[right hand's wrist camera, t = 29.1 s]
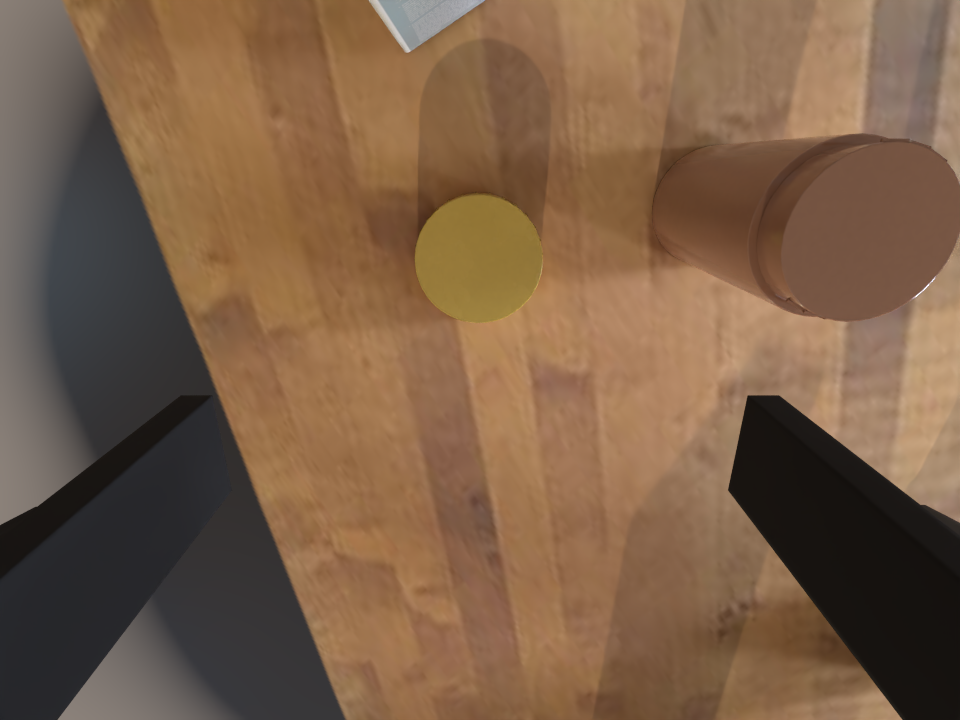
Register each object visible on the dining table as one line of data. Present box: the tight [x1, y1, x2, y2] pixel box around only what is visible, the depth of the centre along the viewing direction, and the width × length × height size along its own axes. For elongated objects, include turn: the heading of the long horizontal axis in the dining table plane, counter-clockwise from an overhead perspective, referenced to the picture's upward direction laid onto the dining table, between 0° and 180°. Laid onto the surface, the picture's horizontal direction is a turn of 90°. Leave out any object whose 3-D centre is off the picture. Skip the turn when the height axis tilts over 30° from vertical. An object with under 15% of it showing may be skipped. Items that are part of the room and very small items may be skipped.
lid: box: [414, 192, 543, 323], centre depth 37 cm, size 9×9×2 cm
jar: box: [652, 134, 960, 322], centre depth 29 cm, size 8×8×16 cm
